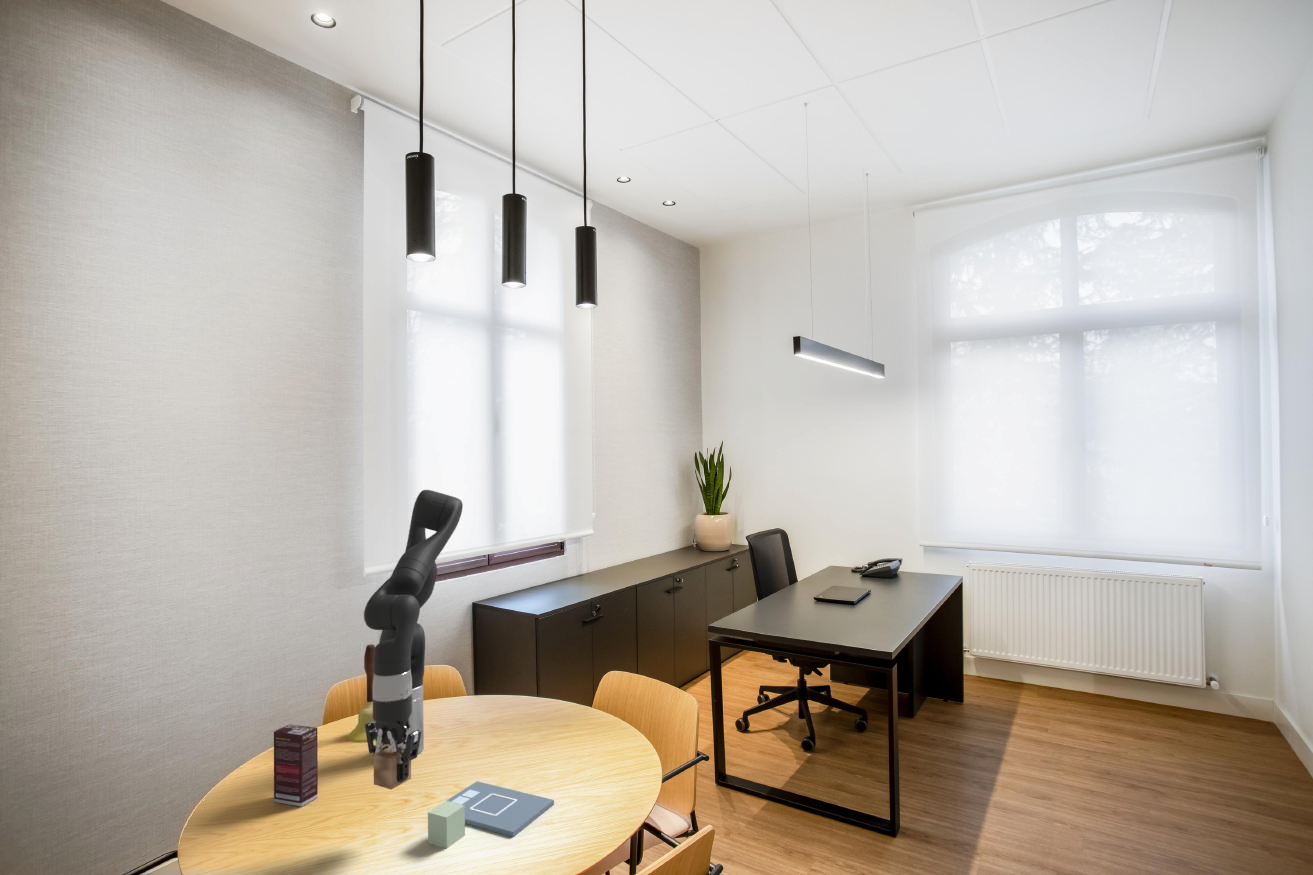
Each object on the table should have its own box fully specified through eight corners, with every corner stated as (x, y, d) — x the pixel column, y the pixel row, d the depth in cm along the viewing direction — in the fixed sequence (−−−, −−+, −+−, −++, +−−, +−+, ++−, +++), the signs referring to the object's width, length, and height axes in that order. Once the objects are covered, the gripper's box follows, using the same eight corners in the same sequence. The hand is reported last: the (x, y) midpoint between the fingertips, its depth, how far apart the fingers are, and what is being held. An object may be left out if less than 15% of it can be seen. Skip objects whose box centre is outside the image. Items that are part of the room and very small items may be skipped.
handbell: (337, 739, 185) (336, 648, 186) (371, 723, 196) (370, 638, 197) (370, 745, 180) (369, 652, 181) (403, 728, 191) (402, 641, 193)
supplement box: (319, 797, 151) (318, 726, 152) (301, 807, 147) (301, 735, 148) (290, 792, 154) (290, 723, 155) (272, 802, 150) (272, 731, 150)
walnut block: (373, 784, 133) (373, 754, 133) (393, 773, 137) (393, 744, 138) (391, 789, 131) (391, 758, 131) (411, 778, 135) (410, 748, 135)
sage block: (428, 842, 131) (427, 812, 132) (446, 830, 136) (446, 800, 136) (447, 848, 129) (446, 817, 130) (464, 835, 134) (464, 805, 134)
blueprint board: (432, 813, 142) (432, 808, 142) (477, 785, 155) (477, 780, 155) (513, 836, 133) (513, 831, 133) (554, 804, 145) (553, 799, 145)
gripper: (352, 693, 135) (352, 778, 134) (402, 704, 128) (403, 793, 127) (383, 682, 141) (383, 763, 141) (432, 692, 135) (432, 776, 134)
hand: (392, 777), depth 134 cm, fingers closed on walnut block, 5 cm apart
